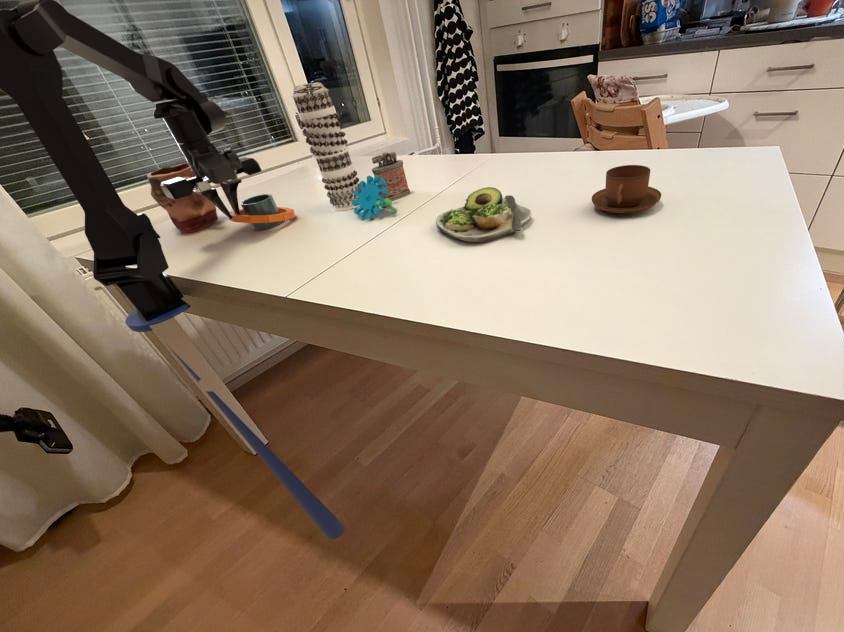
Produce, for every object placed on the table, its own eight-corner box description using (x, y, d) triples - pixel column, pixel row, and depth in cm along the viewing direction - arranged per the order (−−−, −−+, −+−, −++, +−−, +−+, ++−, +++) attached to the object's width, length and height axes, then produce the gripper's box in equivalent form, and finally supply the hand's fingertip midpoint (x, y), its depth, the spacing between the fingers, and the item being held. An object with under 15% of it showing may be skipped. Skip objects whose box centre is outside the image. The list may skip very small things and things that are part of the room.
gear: (343, 210, 89) (360, 168, 88) (362, 221, 95) (378, 181, 93) (375, 223, 84) (394, 179, 83) (394, 234, 89) (411, 192, 88)
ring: (244, 225, 85) (243, 218, 85) (220, 217, 93) (218, 211, 92) (305, 217, 94) (304, 211, 94) (278, 211, 102) (277, 205, 101)
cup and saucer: (665, 216, 67) (671, 178, 63) (593, 221, 70) (594, 185, 66) (653, 192, 76) (658, 158, 72) (589, 198, 79) (590, 165, 75)
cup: (261, 232, 91) (248, 206, 88) (248, 227, 95) (235, 202, 91) (288, 221, 95) (276, 195, 91) (275, 217, 99) (263, 192, 95)
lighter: (406, 191, 100) (395, 147, 94) (413, 193, 98) (402, 149, 92) (378, 201, 97) (365, 157, 91) (385, 203, 95) (372, 158, 88)
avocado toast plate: (558, 225, 71) (558, 199, 68) (471, 257, 66) (466, 230, 63) (504, 200, 85) (502, 178, 82) (428, 225, 80) (423, 202, 77)
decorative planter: (247, 218, 102) (217, 160, 93) (205, 238, 94) (168, 176, 85) (202, 215, 110) (170, 161, 101) (160, 233, 102) (121, 177, 93)
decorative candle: (348, 212, 93) (303, 86, 78) (323, 210, 98) (276, 90, 82) (374, 198, 99) (338, 78, 83) (349, 197, 103) (310, 82, 87)
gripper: (154, 155, 70) (206, 239, 80) (253, 129, 80) (288, 206, 90) (138, 153, 76) (187, 230, 86) (231, 128, 86) (266, 201, 96)
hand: (234, 217), depth 89 cm, fingers closed on ring, 1 cm apart
